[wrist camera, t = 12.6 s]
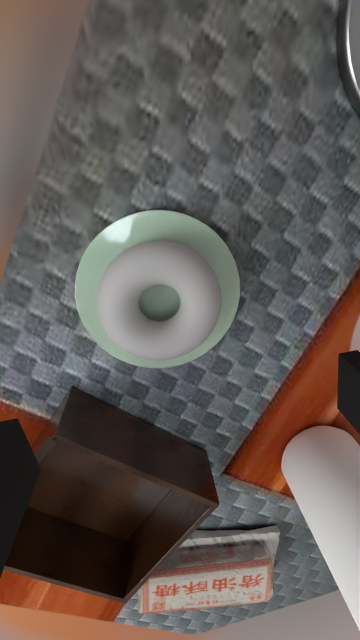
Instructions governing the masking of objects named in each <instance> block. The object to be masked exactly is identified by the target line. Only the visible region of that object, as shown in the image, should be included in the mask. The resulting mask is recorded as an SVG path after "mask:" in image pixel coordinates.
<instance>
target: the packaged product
mask: <svg viewBox="0 0 360 640" xmlns="http://www.w3.org/2000/svg"><path fill="white" fill-rule="evenodd" d="M279 534H280V531H279V529H278V527H277V525H276V526H270V527H265V528H259V529H254V530H248V531H245V530H223V531H203V530H195V531H194V532H193V533H192V534H191V535H190V536H189V537H188V538H187V539H186V540H185V542H184V543H183V544H182V545H181V546H180V547H179V548H178V549H177V550H176V551H175V552H174V553H173V554H172V555H171V556H170V557H169V558H168V559H167V560H166V562H165V563H164V564H163V565H162V566H161V567H160V568H159V569H158V570H157V571H156V572H155V573H154V574H153V575H152V576H151V577H150V578H149V579H148V580H147V582H146V583H145V584H144V585H143V586H142V587H141V588H140V589H139V590H138V591H137V593H138V611H139V613H141V614H144V613H160V612H168V611H182V610H192V609H202V608H212V607H220V606H230V605H239V604H249V603H260V602H265V601H268V600H269V599H270V598H271V597H272V596H273V568H274V560H275V556H276V552H277V547H278V542H279Z"/></svg>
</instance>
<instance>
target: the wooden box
mask: <svg viewBox="0 0 360 640" xmlns="http://www.w3.org/2000/svg"><path fill="white" fill-rule="evenodd" d="M48 437H50V438H52V439H53V440H55V441H56V442H57V444H56V445H55V447H54V448H53V450H52V451H51V452H50V454H49V455H48V457H47V458H46V460H45V461H44V463H43V464H42V465H41V467H40V468H41V470H40V473H39V475H38V478H37V481H36V483H35V486H34V489H33V491H32V494H31V497H30V499H29V502H28V505H27V507H26V510H25V513H24V515H23V518H22V521H21V523H20V526H19V529H18V531H17V534H16V537H15V539H14V542H13V545H12V547H11V550H10V553H9V555H8V558H7V561H6V563H5V566H4V569H3V570H6V571H9V572H13V573H17V574H20V575H24V576H27V577H31V578H35V579H38V580H42V581H46V582H49V583H53V584H56V585H60V586H64V587H67V588H71V589H75V590H78V591H82V592H85V593H89V594H93V595H96V596H100V597H104V598H107V599H111V600H114V601H118V602H122V603H127V602H128V601H129V599H130V598H131V597H132V596H133V595H134V594H135V593H136V592H137V591H138V590H139V589H140V588H141V587H142V586H143V585H144V584H145V583H146V582H147V580H148V579H149V578H150V577H151V576H152V575H153V574H154V573H155V572H156V571H157V570H158V569H159V568H160V567H161V566H162V565H163V564H164V563H165V562H166V560H167V559H168V558H169V557H170V556H171V555H172V554H173V553H174V552H175V551H176V550H177V549H178V548H179V547H180V546H181V545H182V544H183V543H184V542H185V540H186V539H187V538H188V537H189V536H190V535H191V534H192V533H193V532H194V531H195V530H196V529H197V528H198V527H199V526H200V525H201V524H202V523H203V522H204V520H205V519H206V518H207V517H208V516H209V515H210V514H211V513H212V512H213V511H214V510H215V508H217V507H218V506H219V500H218V496H217V492H216V488H215V484H214V480H213V475H212V471H211V467H210V463H209V459H208V455H207V451H206V450H204V449H202V448H200V447H198V446H195V445H193V444H191V443H189V442H187V441H185V440H183V439H181V438H179V437H177V436H175V435H173V434H171V433H168V432H166V431H164V430H162V429H160V428H158V427H156V426H154V425H152V424H150V423H148V422H146V421H143V420H141V419H139V418H137V417H135V416H133V415H131V414H129V413H127V412H125V411H123V410H121V409H119V408H116V407H114V406H112V405H110V404H108V403H106V402H104V401H102V400H100V399H98V398H96V397H94V396H91V395H89V394H87V393H85V392H83V391H81V390H79V389H77V388H75V387H73V386H72V387H71V389H70V390H69V392H68V393H67V395H66V396H65V398H64V399H63V401H62V402H61V404H60V405H59V407H58V408H57V410H56V411H55V412H54V414H53V415H52V417H51V418H50V420H49V421H48V423H47V424H46V426H45V427H44V429H43V430H42V432H41V433H40V435H39V436H38V438H37V439H36V441H35V442H34V444H33V445H32V447H31V449H32V451H33V453H35V452H36V451H37V449H38V448H39V447H40V446H41V445H42V444H43V442H44V441H45V440H46V439H47V438H48Z"/></svg>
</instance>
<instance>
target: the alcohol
mask: <svg viewBox="0 0 360 640" xmlns="http://www.w3.org/2000/svg"><path fill="white" fill-rule="evenodd" d="M281 468H282V472H283V475H284V477H285V479H286V481H287V483H288V485H289V487H290V489H291V491H292V493H293V495H294V497H295V499H296V501H297V503H298V506H299V508H300V510H301V512H302V514H303V516H304V518H305V520H306V522H307V524H308V526H309V528H310V530H311V532H312V534H313V536H314V538H315V540H316V542H317V544H318V546H319V549H320V551H321V553H322V555H323V557H324V559H325V561H326V563H327V565H328V567H329V569H330V571H331V573H332V575H333V577H334V579H335V581H336V583H337V585H338V587H339V589H340V591H341V594H342V595H343V598H344V600H345V601H346V604H347V606H348V608H349V610H350V612H351V614H352V616H353V618H354V620H355V622H356V624H357V626H358V628H359V630H360V445H359V444H358V443H357V442H356V441H355V439H354V438H353V437H352V436H351V435H350V434H349V433H348V432H346V431H344V430H342V429H338V428H335V427H331V426H315V427H311V428H308V429H306V430H304V431H302V432H300V433H299V434H297V435H296V436H295V437H293V438H292V439H291V440H290V442H289V443H288V444H287V446H286V447H285V450H284V452H283V457H282V463H281Z"/></svg>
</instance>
